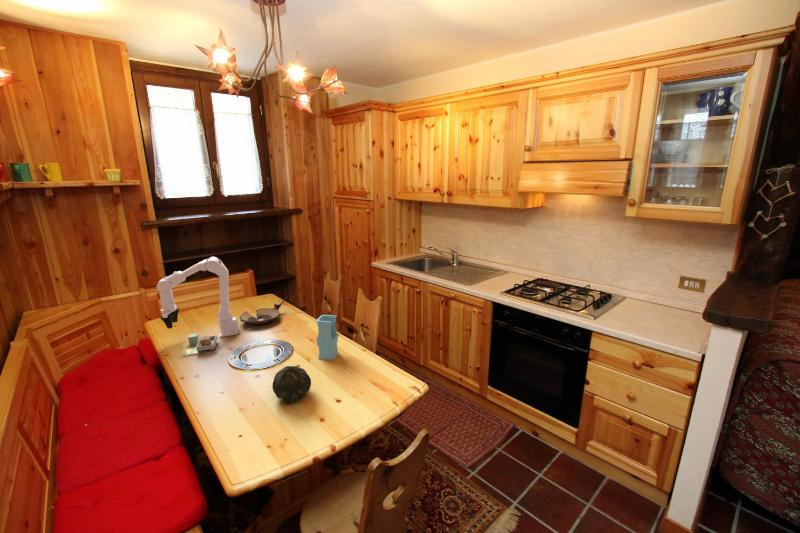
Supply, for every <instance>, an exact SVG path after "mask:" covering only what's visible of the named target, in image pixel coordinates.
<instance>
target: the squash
mask: <svg viewBox="0 0 800 533" xmlns="http://www.w3.org/2000/svg"><path fill="white" fill-rule="evenodd" d="M271 386H272V391H273V393H274V395H275V396H276V398H277V399H280V400H281V401H282V402H283V403H285V404H287V403H290V402H291V403H295V402H297V401H298V399H300V400H303V399H304V398H305V397H306V396H307V393H308V392H309V391H310V390H311V386H312V379H311V377H310V375H309V374H308V373H307V370H305V369H304V368H301V367H300V366H298V365H287V366H284V367H283V368H282V369H280V370H279V371H277V372H276V373H275V375H274V377H273V381H272V385H271Z"/></svg>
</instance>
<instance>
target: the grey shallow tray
mask: <svg viewBox="0 0 800 533" xmlns="http://www.w3.org/2000/svg"><path fill="white" fill-rule="evenodd" d="M209 336H210V338H211V344H210V345H204V346H201V343H200V340H201V337H199V341H198V344H196V345H195V346H196V349H197V351H198V353H201V352H203V351H207V350H208V351H209V350H210V351H214V350H215V348H216V345H217V344H216V343H217V342H218V335H209Z"/></svg>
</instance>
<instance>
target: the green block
mask: <svg viewBox="0 0 800 533" xmlns="http://www.w3.org/2000/svg"><path fill="white" fill-rule="evenodd" d="M198 333H199V332H198ZM198 333H191V334H189V335H188V336H187V339H188V345H189V346H195V345H197V344H198V341H199V339H200V337H199V334H198Z"/></svg>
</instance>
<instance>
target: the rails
mask: <svg viewBox="0 0 800 533" xmlns="http://www.w3.org/2000/svg"><path fill="white" fill-rule="evenodd" d="M219 344H220V343H219V342H218V341H217V342H216V345H219ZM196 346H197V345H190V346H186V352H185V353H184V354H183V355H182V357H183V358H187V357H191V356H196V355H197V356H198V355H205V354H210V353H217V349H214V351H212V350H208V351H207V350H205V351H201V353H198V351H197V349H196Z"/></svg>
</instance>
